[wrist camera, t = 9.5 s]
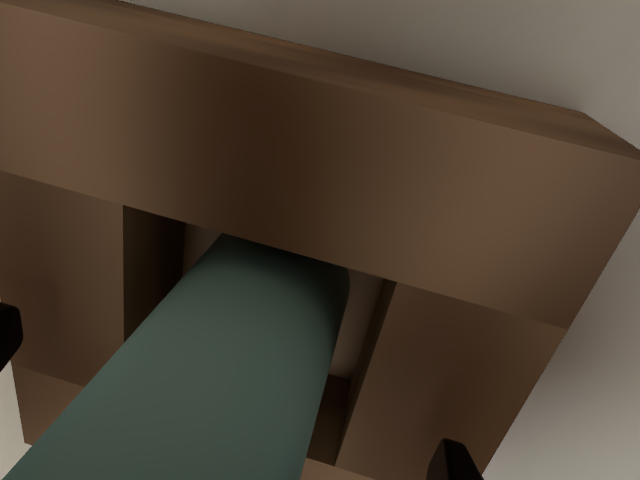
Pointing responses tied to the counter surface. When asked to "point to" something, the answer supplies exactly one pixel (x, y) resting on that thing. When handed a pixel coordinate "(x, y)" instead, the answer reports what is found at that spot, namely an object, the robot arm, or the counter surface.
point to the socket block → (297, 216)
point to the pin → (208, 377)
